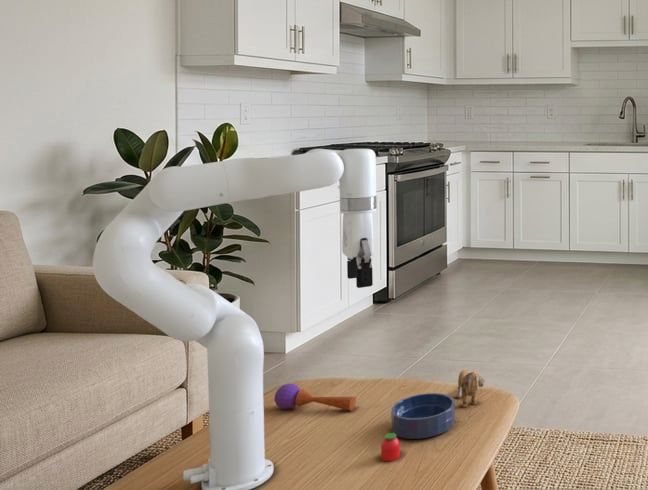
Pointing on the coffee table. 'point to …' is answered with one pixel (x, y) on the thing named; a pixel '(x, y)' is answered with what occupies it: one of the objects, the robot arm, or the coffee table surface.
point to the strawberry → (390, 447)
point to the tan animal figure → (469, 385)
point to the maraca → (308, 398)
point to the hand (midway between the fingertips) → (359, 282)
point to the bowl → (423, 415)
